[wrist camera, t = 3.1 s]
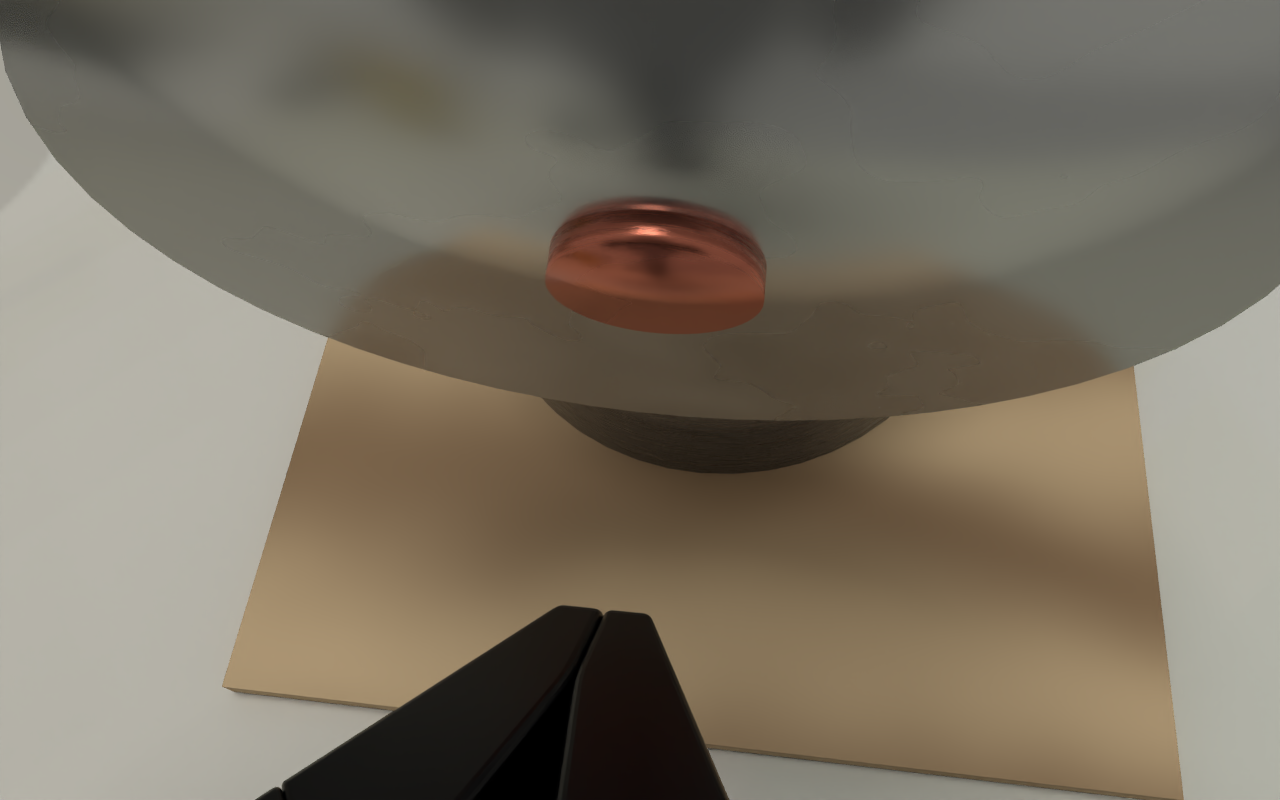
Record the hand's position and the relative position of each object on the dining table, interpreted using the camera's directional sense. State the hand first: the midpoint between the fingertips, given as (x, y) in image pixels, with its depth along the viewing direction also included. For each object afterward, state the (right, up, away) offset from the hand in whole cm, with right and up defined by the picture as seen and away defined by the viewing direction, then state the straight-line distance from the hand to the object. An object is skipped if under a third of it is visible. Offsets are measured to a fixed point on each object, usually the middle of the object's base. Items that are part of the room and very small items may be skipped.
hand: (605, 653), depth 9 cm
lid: (+1, +5, +2) cm, 6 cm away
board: (+3, +6, +17) cm, 18 cm away
